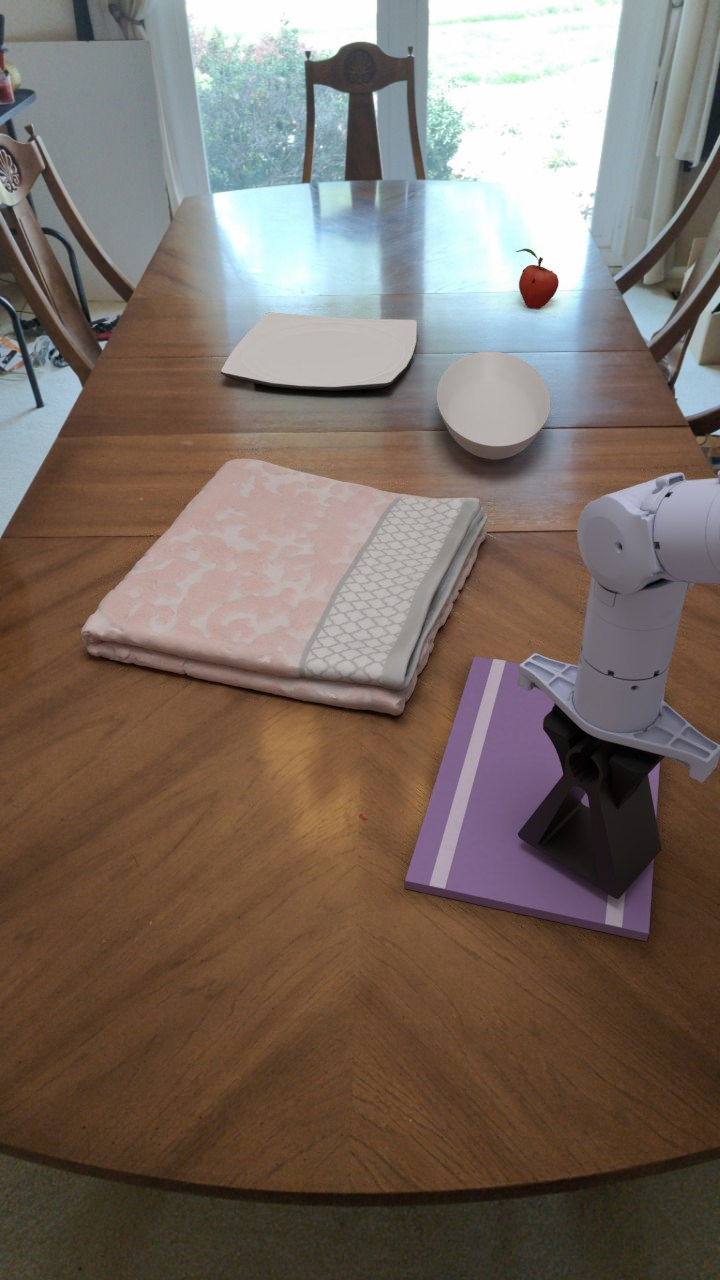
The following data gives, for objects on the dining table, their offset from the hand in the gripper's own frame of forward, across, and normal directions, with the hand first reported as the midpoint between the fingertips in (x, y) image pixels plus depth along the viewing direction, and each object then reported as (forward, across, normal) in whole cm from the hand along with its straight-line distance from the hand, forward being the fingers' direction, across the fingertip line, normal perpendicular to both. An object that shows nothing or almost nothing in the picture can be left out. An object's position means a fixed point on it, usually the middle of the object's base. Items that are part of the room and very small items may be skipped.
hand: (597, 797), depth 72 cm
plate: (+8, +86, -58) cm, 104 cm away
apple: (+8, +75, -100) cm, 126 cm away
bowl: (+8, +50, -54) cm, 74 cm away
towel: (+8, +43, -11) cm, 45 cm away
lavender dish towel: (+8, +7, -5) cm, 12 cm away
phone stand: (+5, 0, 0) cm, 5 cm away
